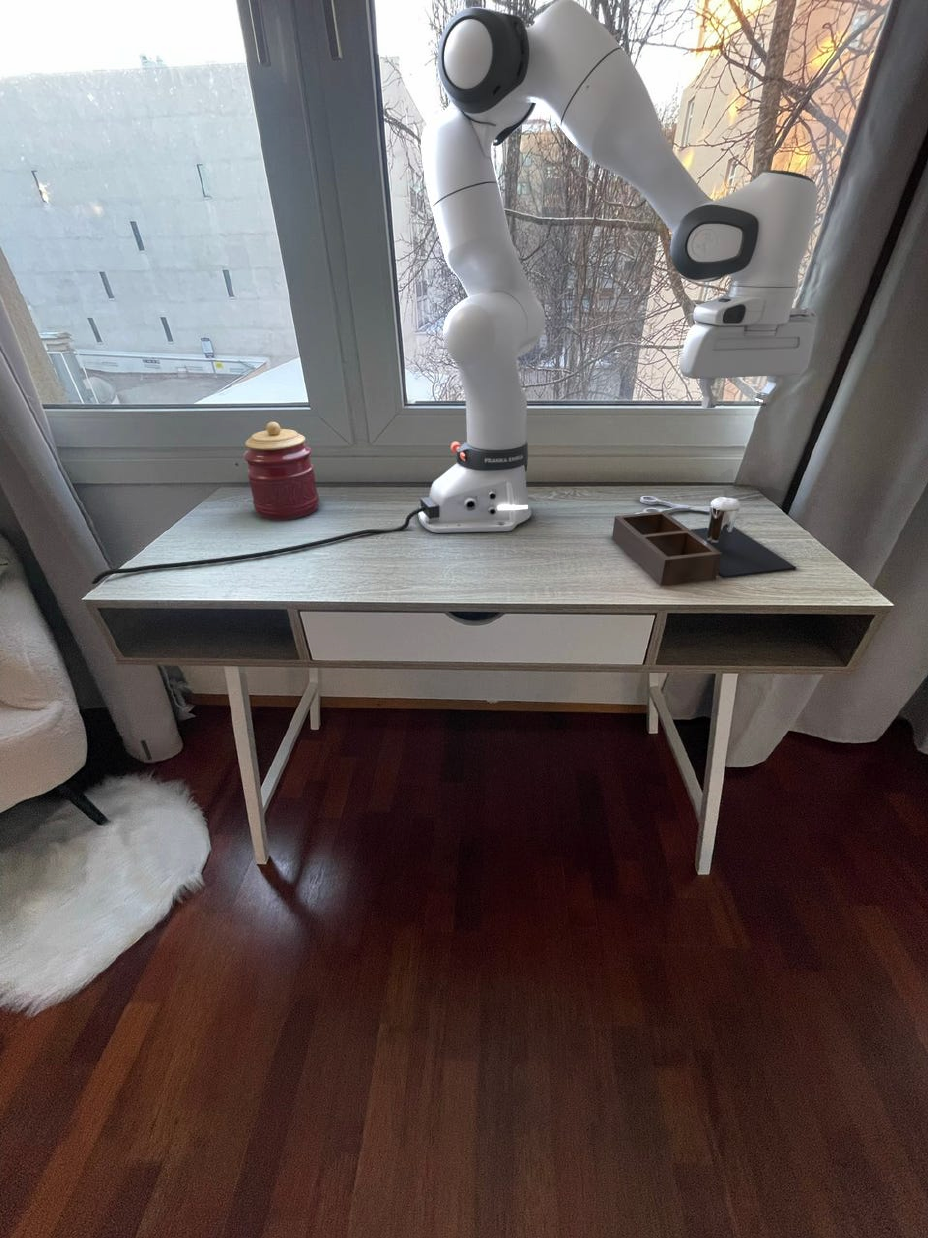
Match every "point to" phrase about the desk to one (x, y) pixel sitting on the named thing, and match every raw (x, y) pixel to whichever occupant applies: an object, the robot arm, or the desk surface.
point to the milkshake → (722, 521)
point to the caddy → (666, 548)
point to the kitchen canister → (281, 474)
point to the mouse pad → (746, 556)
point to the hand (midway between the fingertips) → (734, 406)
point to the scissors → (676, 507)
